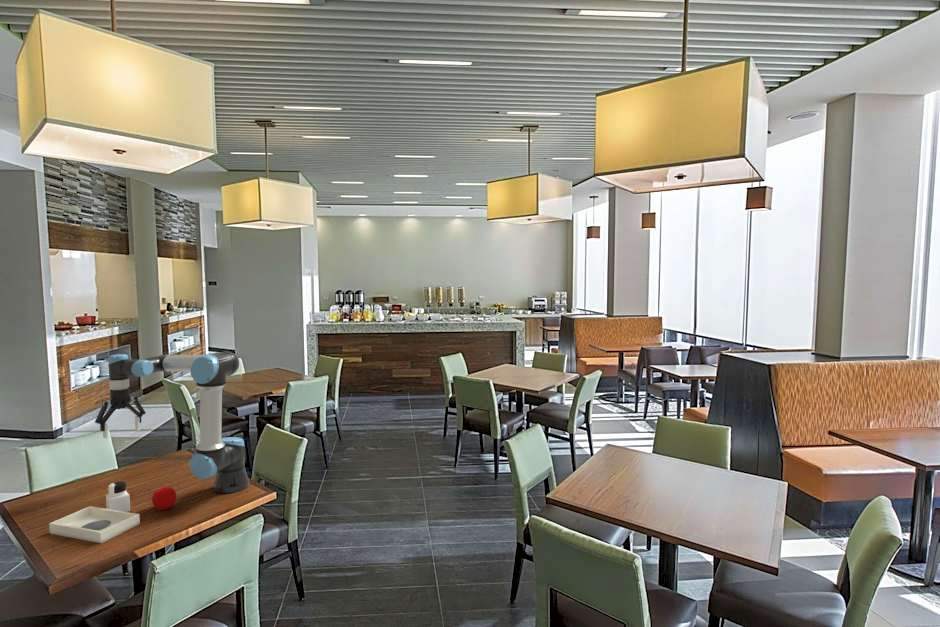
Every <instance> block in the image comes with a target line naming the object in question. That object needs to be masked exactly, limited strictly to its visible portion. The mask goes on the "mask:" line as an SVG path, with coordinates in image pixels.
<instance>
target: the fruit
mask: <svg viewBox="0 0 940 627" xmlns="http://www.w3.org/2000/svg"><path fill="white" fill-rule="evenodd" d="M176 501H177V492H176V491H175V489H174V488H172V487H171V486H162V485H160V488H158V489H156V490H155V491H154V492H153V494H152V497H151V502H152V505H153V506H154V508H155V509H157V510H159V511H164V510H168V509H170V508H172V507H173V506H174V504H175V503H176Z"/></svg>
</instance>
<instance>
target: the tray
mask: <svg viewBox="0 0 940 627" xmlns="http://www.w3.org/2000/svg"><path fill="white" fill-rule="evenodd" d="M140 517H141V516H140V513H134V512H130V511H128V512H123V511H117V510H111V509H107V508H104V507H98V506H93V505H92V506H87V507H85V508H82V509H80V510H77V511H75V512H73V513H71V514H68V515H66V516H63V517H60V518H58V519H56V520H54V521H51V522H49V524H48V525H49V527H48V528H49V534H51V535H56V536H59V537H60V536H61V537H65V538H72V539H77V540H82V541H87V542H93V543H97V544H103V543H105V542H107V541H109V540H110V539H113V538H115V537H117V536H118V535H121V534H123V533H125V532H127V531H128V530H131V529H132V528H136V527H137V526H138V525H139V526H140V522H141V521H140V520H141V518H140Z"/></svg>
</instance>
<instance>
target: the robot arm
mask: <svg viewBox="0 0 940 627" xmlns="http://www.w3.org/2000/svg"><path fill="white" fill-rule="evenodd" d="M107 366H108V378H109V381H108V382H109V398H110V399H109V400H107V401H105V400H103V401H102V402H101V403H102V404H101V408H100V410H99V412H98V414H97V416H96V418H95V421H94V423H95V424H97V425H99V427H100V432H102V438H103V439H109V437H108V436H109V434H108V423H106V422H107V421H108V420H109V419H110V417H111V416H112V415H113V413H114V412H115V411H116V410H121V409H126V408H127V409H128V410H130V411H131V413H133V414H134V415H135V416H134V426H135V428H134V431H137V432H140V431H141V426H140V425H141V423H142V417H143V416H144V415H146V410H144V407H143V406H142V404H141V403H140V402H139V398H138V396H137V395H132V396H131V391H130V390H131V388H130V377H137V378H138V377H139V378H142V377H144V378H145V377H149V376H150V375H151V374H155V373H160V372H165V373H166V372H190V376H191V378H192V380H193V381H194V382H195V383H196V387H197V388H198V389H200V391H199V400H200V401H199V441H198V442H199V443H198V444H196V446H195V451H194V452H195V454H193V455H192V456H191V457H190V459H189V462H188V465H189V469H190V471H191V472H192V474H194V476H195V477H197V478H198V479H201V480H205V479H209V478H212V477H215V476H216V477H215V480H214V483H213V490H214V492H216V493H219V494H220V493H221V494H228V493H231V494H232V493H236V492H239V491H243V490H245V489H247V488H248V487H249V486H250V478H249V477H248V474H247V471H246V467H245V464H246V462H245V461H246V460H245V457H246V456H245V446H246V445H245V441H244V439H243V438H242V437H235V436H231V437H230V436H228V437H222V419H223V418H222V416H223V411H222V410H223V388H224V387H225V386H226V385H227V378H228V377H230V376H232V375H234V374H236V372H237V371H238V370H239V366H240V360H239V358H238V356H237V355H236V354H235V353H234V352H231V351H229V350H228V351H227V350H224V351H223V350H222V351H220V352H216V351H215V352H213V353H206V354H187V355H186V354H182V355H181V354H180V355H179V354H177V355H176V354H175V355H170V354H160V355H156V356H151V357H145V358H139V359H129V355H128V354H124V353H121V354H112V355H109V357H108V365H107ZM130 402H133V404H134V406H135V407H136V408H137V409H136V408H134V406H133V405H132V404H130ZM108 406H109V408H108ZM107 409H108V410H107Z"/></svg>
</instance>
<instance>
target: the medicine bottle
mask: <svg viewBox="0 0 940 627" xmlns="http://www.w3.org/2000/svg"><path fill="white" fill-rule="evenodd" d="M105 500H106V501H105V505H106V508H105V509H111V510H117V511H123V512H130V511H131V500H130V493H128V492H127V483H126V482H125V481H115V482H112V483H110V484H109V485H108V493H107V494H105Z"/></svg>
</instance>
